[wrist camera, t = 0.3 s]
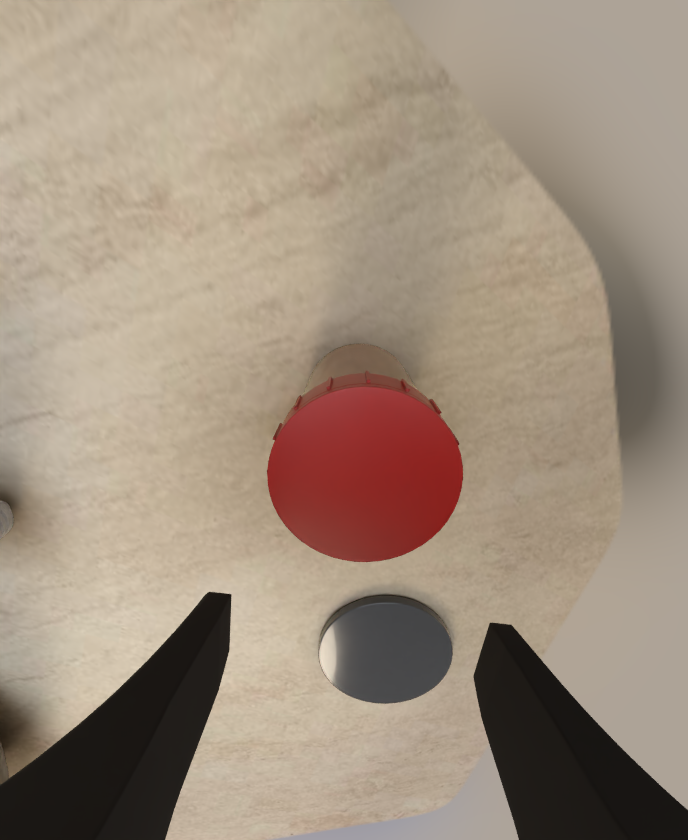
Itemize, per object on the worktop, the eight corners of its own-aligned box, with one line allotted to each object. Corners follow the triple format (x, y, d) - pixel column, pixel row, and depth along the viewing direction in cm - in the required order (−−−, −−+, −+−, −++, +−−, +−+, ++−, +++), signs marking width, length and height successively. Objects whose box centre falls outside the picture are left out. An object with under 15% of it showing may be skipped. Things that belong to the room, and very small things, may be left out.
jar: (404, 334, 19) (443, 377, 11) (416, 435, 20) (458, 536, 12) (297, 353, 19) (259, 407, 11) (318, 450, 21) (297, 557, 13)
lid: (442, 357, 12) (455, 369, 10) (458, 519, 14) (471, 550, 12) (257, 388, 12) (243, 403, 11) (295, 542, 14) (289, 574, 13)
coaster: (444, 586, 23) (446, 594, 23) (455, 687, 26) (458, 696, 25) (307, 604, 24) (306, 611, 23) (331, 701, 27) (331, 710, 26)
